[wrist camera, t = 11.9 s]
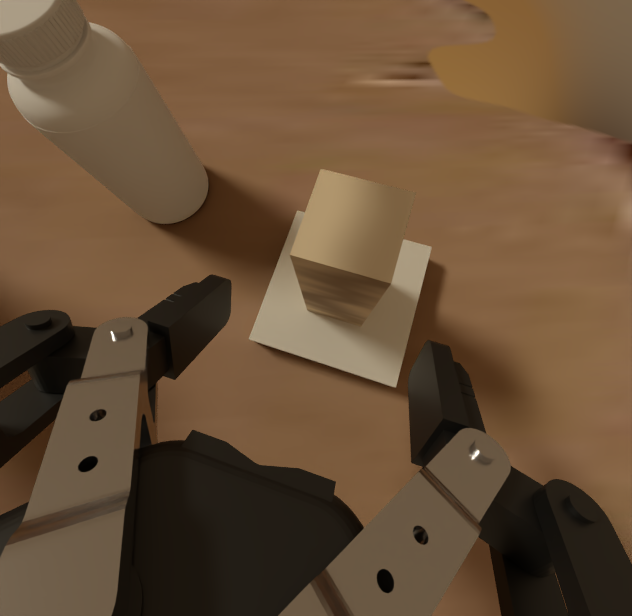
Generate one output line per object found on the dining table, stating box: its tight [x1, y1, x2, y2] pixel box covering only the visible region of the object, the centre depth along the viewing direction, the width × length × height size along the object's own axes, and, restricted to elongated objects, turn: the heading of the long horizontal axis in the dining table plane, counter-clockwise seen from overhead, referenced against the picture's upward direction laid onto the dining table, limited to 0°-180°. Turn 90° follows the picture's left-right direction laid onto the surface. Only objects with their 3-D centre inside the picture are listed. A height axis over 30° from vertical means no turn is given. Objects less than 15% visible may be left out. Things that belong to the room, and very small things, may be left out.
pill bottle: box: [0, 0, 209, 224], centre depth 21 cm, size 8×8×15 cm
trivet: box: [249, 210, 432, 388], centre depth 24 cm, size 12×12×2 cm
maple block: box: [290, 169, 416, 326], centre depth 18 cm, size 4×4×11 cm
